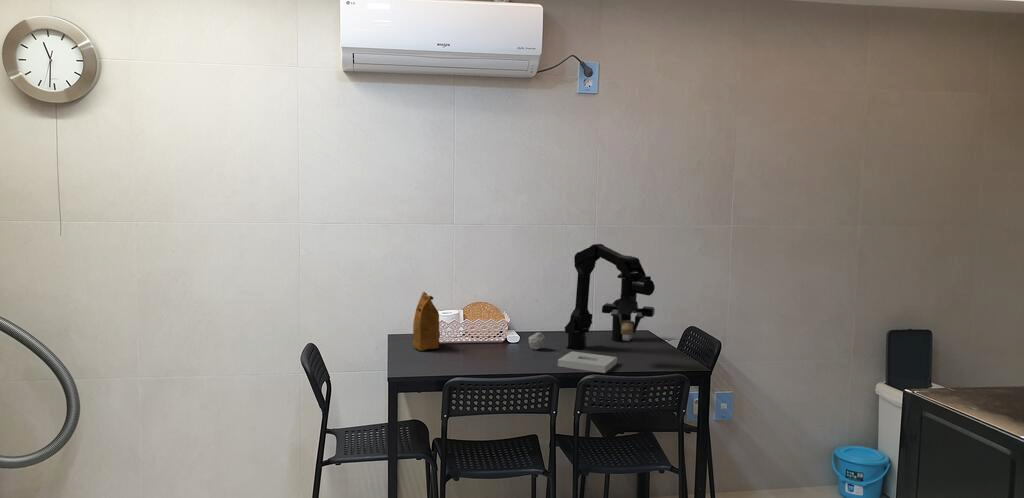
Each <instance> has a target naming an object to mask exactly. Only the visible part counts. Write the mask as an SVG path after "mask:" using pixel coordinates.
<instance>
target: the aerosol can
mask: <svg viewBox="0 0 1024 498" xmlns="http://www.w3.org/2000/svg"><path fill="white" fill-rule="evenodd" d="M619 295H620V296H619V298H617V299H616V300H614V302H612V304H615V306H617V307H618V304H619V301H620V299H621V293H620V294H619ZM621 321H632V314H631V315H627V314H621ZM622 337H623V334H621V332H619V328H618V325H617V322H616V320H615V318H614V316H612V329H611V341H613V342H617V343H629V342H631V340H632V338H631V339H630V340H629V341H625V340H622Z"/></svg>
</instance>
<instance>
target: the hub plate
mask: <svg viewBox="0 0 1024 498" xmlns="http://www.w3.org/2000/svg"><path fill="white" fill-rule="evenodd" d="M617 363H618V357H616V356H611V355H601V354H596V353H595V354H593V353H587V352H579V351H573V350H572V351H570V352H568V353H566V354H565V355H564V356H562V357H560V358H559V359H557V367H561V368H567V369H574V370H580V371H581V370H582V371H588V372H589V371H590V372H595V373H603V374H606V373H607V372H608V371H609V370H610V369H612V368H614V367H615V366H616V365H617Z"/></svg>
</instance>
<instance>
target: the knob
mask: <svg viewBox="0 0 1024 498" xmlns="http://www.w3.org/2000/svg"><path fill="white" fill-rule="evenodd" d="M634 324H635V321H633V320H631V321H621V334H623V337H622V340H625V341H629V340H630V339H631V340H632V338H633V335H634ZM629 342H630V341H629Z"/></svg>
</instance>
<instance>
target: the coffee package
mask: <svg viewBox="0 0 1024 498" xmlns="http://www.w3.org/2000/svg"><path fill="white" fill-rule="evenodd" d="M432 300H434V296H432V295H428V293H427V292H425V291H422V293H421V296H420V298H419V300H418V303H417V305H416V309H415V311H414V312H415V313H414V319H413V328H412V329H413V332H412V334H413V335H412V343H413V347H414V349H415V348H416V349H415V350H417V349H418V351H420V352H422V351H429V350H435V349H439V348H440V345H439V344H440V338H441V332H440V313H439V311H438V310H437V307H436V305H434V303H433V301H432ZM428 349H429V350H428Z"/></svg>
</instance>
